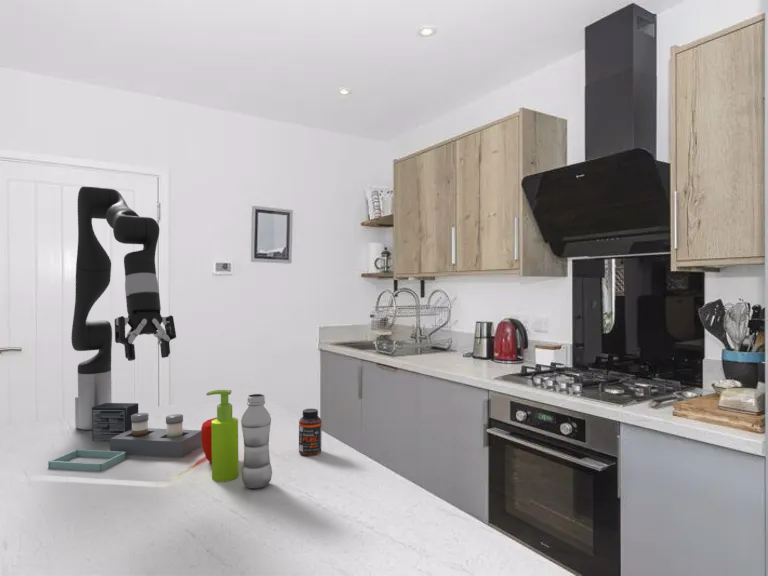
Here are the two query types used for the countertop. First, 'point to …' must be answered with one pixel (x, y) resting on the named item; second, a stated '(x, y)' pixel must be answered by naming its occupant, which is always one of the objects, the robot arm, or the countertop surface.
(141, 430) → the fuse
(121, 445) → the block
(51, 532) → the countertop surface
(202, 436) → the apple
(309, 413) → the supplement bottle
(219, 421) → the soap dispenser
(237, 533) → the countertop surface
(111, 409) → the small box
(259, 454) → the plastic bottle
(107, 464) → the tray
